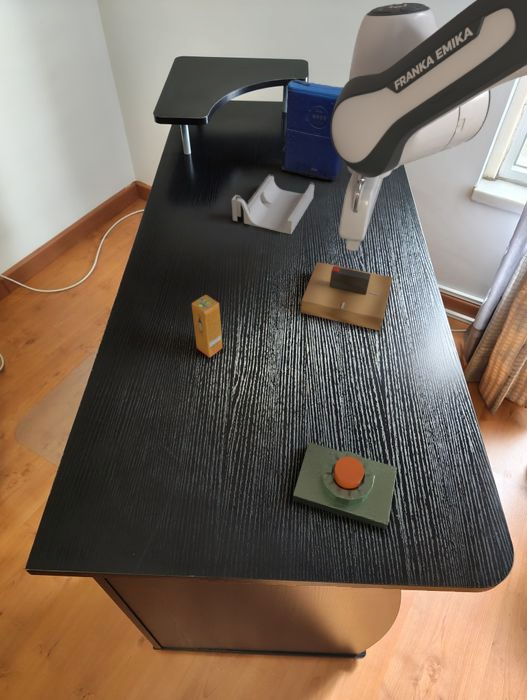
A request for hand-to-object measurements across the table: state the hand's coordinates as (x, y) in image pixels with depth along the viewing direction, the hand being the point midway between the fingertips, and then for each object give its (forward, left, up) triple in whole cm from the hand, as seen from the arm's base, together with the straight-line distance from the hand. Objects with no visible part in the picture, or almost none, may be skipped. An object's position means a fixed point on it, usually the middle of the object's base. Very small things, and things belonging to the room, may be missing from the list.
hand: (358, 230), depth 76 cm
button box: (-7, +36, -14) cm, 39 cm away
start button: (-7, +36, -11) cm, 38 cm away
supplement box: (+19, +19, -15) cm, 30 cm away
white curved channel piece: (+21, -23, -15) cm, 34 cm away
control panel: (0, +1, -14) cm, 14 cm away
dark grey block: (0, +1, -11) cm, 11 cm away
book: (+17, -40, -15) cm, 46 cm away
